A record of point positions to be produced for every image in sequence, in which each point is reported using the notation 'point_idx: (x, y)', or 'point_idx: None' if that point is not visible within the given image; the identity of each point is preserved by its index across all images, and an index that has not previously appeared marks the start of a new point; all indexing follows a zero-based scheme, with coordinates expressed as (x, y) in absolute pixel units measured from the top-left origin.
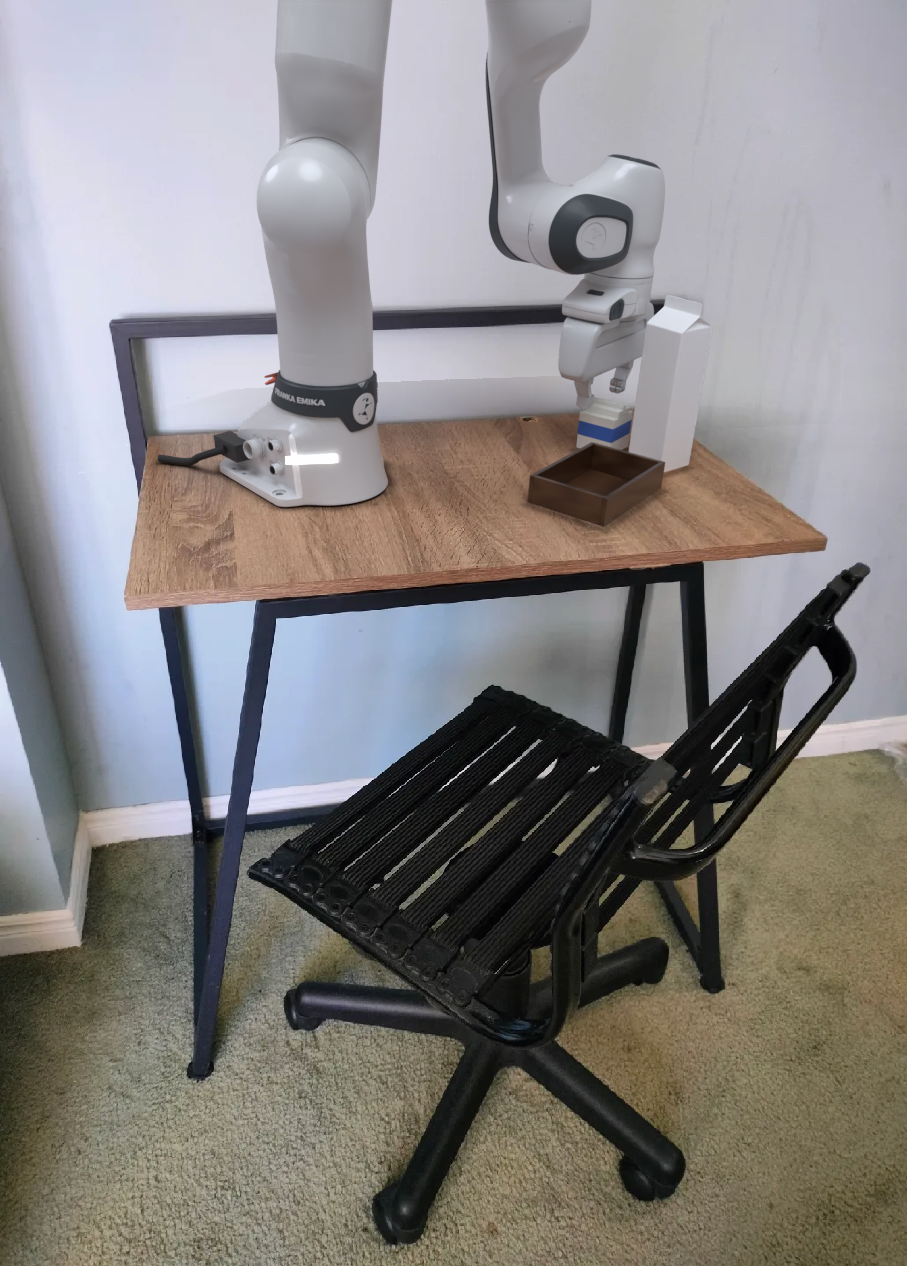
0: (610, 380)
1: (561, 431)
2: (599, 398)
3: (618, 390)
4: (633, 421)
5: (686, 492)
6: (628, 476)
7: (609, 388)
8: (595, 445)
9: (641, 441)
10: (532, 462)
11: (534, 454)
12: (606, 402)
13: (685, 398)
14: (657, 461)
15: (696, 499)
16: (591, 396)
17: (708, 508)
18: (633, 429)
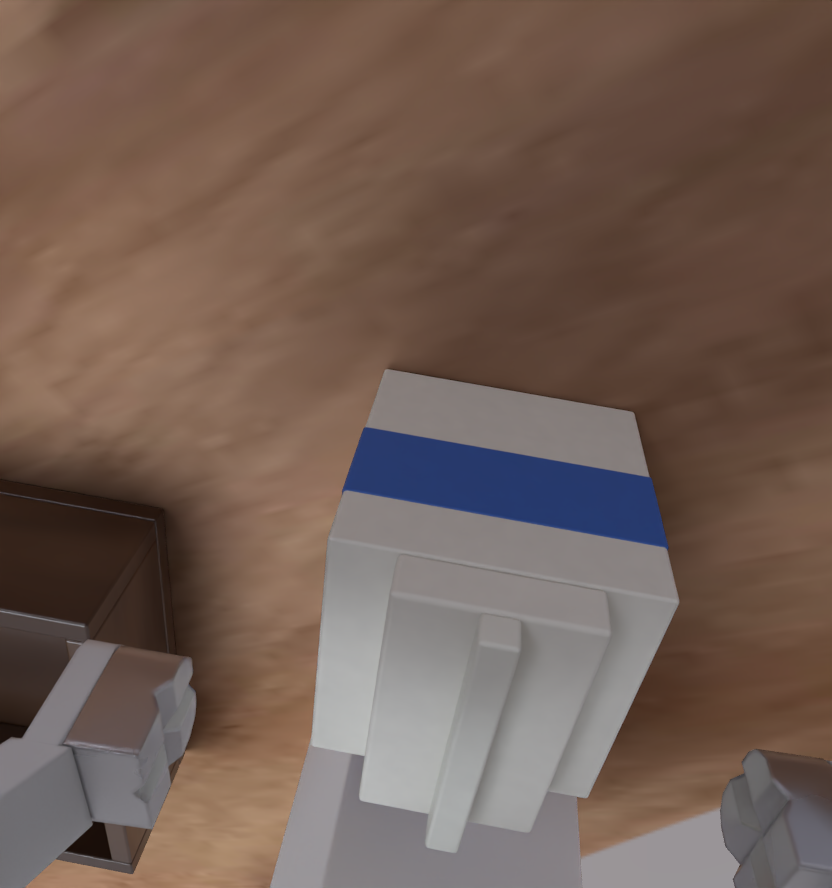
0: (796, 850)
1: (728, 130)
2: (486, 710)
3: (731, 822)
4: (330, 838)
5: (242, 805)
6: None
7: (769, 764)
8: (66, 645)
9: (323, 783)
10: (11, 206)
11: (135, 154)
12: (449, 748)
13: None
14: (112, 856)
15: (211, 828)
16: (96, 815)
17: (173, 851)
18: (336, 795)
